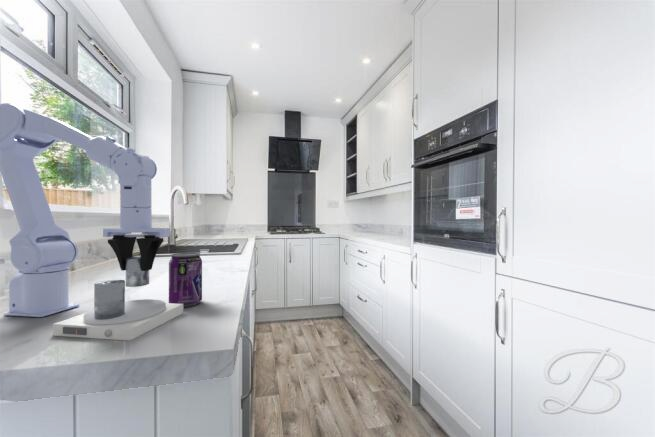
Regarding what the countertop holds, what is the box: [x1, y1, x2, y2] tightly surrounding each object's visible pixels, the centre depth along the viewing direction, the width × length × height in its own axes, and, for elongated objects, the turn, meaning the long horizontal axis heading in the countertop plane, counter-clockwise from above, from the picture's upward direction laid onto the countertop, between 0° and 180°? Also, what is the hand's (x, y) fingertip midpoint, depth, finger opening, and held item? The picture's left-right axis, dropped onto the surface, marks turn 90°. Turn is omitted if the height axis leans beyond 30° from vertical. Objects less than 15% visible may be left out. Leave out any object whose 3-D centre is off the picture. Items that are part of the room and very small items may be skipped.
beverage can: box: [168, 251, 203, 308], centre depth 68 cm, size 7×7×12 cm
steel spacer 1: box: [93, 279, 126, 320], centre depth 52 cm, size 4×4×6 cm
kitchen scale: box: [52, 298, 184, 341], centre depth 55 cm, size 15×14×3 cm
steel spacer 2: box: [125, 255, 150, 288], centre depth 63 cm, size 4×4×6 cm
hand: (136, 269), depth 63 cm, fingers closed on steel spacer 2, 4 cm apart
